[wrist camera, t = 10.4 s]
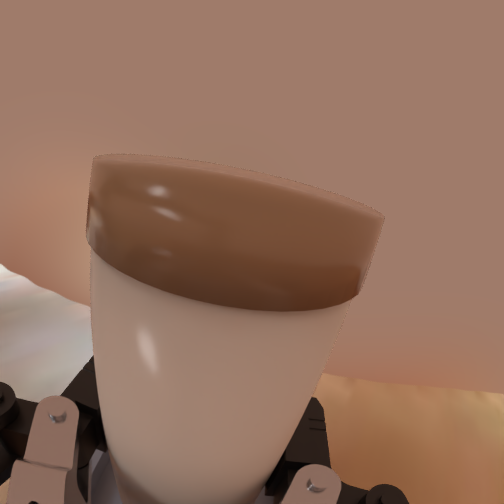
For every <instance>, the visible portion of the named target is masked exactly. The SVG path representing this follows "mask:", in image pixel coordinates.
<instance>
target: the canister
mask: <svg viewBox="0 0 504 504" xmlns="http://www.w3.org/2000/svg"><path fill="white" fill-rule="evenodd" d="M384 219H385V218H384V215H383V214H381V213H380V212H378V211H377V210H375V209H373V208H371V207H369V206H367V205H364V204H362V203H360V202H357V201H355V200H352V199H350V198H347V197H344V196H341V195H339V194H336V193H333V192H329V191H326V190H324V189H320V188H317V187H314V186H311V185H307V184H304V183H300V182H296V181H293V180H289V179H285V178H281V177H277V176H273V175H269V174H265V173H260V172H256V171H251V170H246V169H242V168H236V167H232V166H226V165H220V164H215V163H209V162H202V161H196V160H189V159H182V158H173V157H164V156H153V155H138V154H107V155H99V156H95V157H94V158H93V163H92V171H91V178H90V187H89V198H88V209H87V224H86V238H87V241H88V243H89V245H90V246H91V261H90V262H91V263H90V299H91V325H92V341H93V354H94V364H95V373H96V382H97V390H98V397H99V404H100V410H101V416H102V422H103V427H104V432H105V437H106V442H107V447H108V452H109V456H110V460H111V465H112V469H113V473H114V476H115V480H116V484H117V488H118V491H119V495H120V498H121V501H122V504H254V503H255V501H256V499H257V498H258V496H259V494H260V493H261V491H262V489H263V488H264V486H265V484H266V483H267V481H268V479H269V478H270V476H271V474H272V472H273V471H274V469H275V467H276V465H277V463H278V462H279V460H280V458H281V456H282V454H283V452H284V451H285V449H286V447H287V445H288V443H289V441H290V439H291V437H292V435H293V434H294V432H295V430H296V428H297V426H298V424H299V422H300V420H301V418H302V416H303V414H304V412H305V409H306V407H307V405H308V403H309V401H310V399H311V397H312V395H313V393H314V390H315V388H316V386H317V384H318V382H319V379H320V377H321V375H322V373H323V370H324V368H325V366H326V363H327V361H328V359H329V356H330V354H331V352H332V349H333V347H334V344H335V342H336V339H337V337H338V335H339V332H340V329H341V327H342V324H343V322H344V319H345V317H346V314H347V311H348V308H349V306H350V303H351V300H352V298H353V297H355V296H356V295H358V294H359V292H360V291H361V289H362V287H363V284H364V282H365V279H366V276H367V273H368V270H369V267H370V264H371V261H372V258H373V255H374V252H375V249H376V245H377V242H378V239H379V236H380V233H381V229H382V226H383V222H384Z"/></svg>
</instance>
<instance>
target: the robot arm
mask: <svg viewBox="0 0 504 504" xmlns="http://www.w3.org/2000/svg"><path fill="white" fill-rule="evenodd" d="M324 421H325V417H324V410H323V407H322V406H321V404H320V403H319V401H318V400H317V398H314V397H311V399H310V401H309V403H308V405H307V407H306V409H305V412H304V414H303V416H302V418H301V420H300V422H299V424H298V426H297V428H296V430H295V432H294V434H293V435H292V437H291V439H290V441H289V443H288V445H287V447H286V449H285V451H284V452H283V454H282V456H281V458H280V460H279V462H278V463H277V465H276V467H275V469H274V471H273V472H272V474H271V476H270V478H269V479H268V481H267V483H266V484H265V494H264V495H265V496H273V504H409V502H408V501H407V499H406V497H405V495H404V494H403V492H402V491H401V490H400V489H398V488H397V487H395V486H392V485H388V484H381V485H377V486H375V487H373V488H372V489H371V490H370V491H368V490H364V489H360V488H357V487H353V486H350V485H347V484H345V483H343V482H342V481H341V480H340V478H339V476H338V475H337V474H336V473H335V472H334V471H333V470H332V469H331V465H330V457H329V449H328V441H327V433H326V425H325V422H324ZM96 449H98V450H100V451H102V452H105V453H106V452H107V450H108V447H107V442H106V437H105V432H104V427H103V422H102V416H101V410H100V404H99V397H98V390H97V382H96V373H95V364H94V355H93V356H92V357H91V359H90V360H89V362H87V363H86V365H85V366H84V367H83V370H81V371H80V372H79V373H78V374H77V376H76V377H75V378H74V379H73V381H72V382H71V383H70V384H69V386H68V387H67V388H66V389H65V391H64V392H63V393H62V394H61V395H60V396H50V397H47V398H45V399H43V400H42V401H40V402H39V403H36V402H31V401H27V400H23V399H19V398H16V396H15V393H14V391H13V389H12V388H11V387H10V386H9V385H7V384H6V383H3V382H0V485H2V484H3V483H4V482H5V481H6V480H8V479H9V478H10V477H11V478H10V484H9V490H8V496H7V503H6V504H91V478H92V458H91V457H92V456H93V454H94V452H95V450H96Z"/></svg>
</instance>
